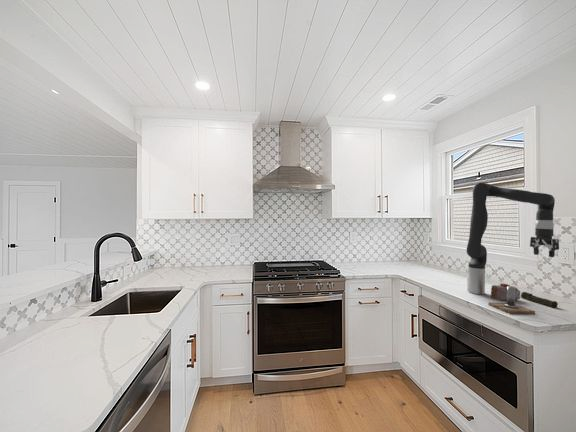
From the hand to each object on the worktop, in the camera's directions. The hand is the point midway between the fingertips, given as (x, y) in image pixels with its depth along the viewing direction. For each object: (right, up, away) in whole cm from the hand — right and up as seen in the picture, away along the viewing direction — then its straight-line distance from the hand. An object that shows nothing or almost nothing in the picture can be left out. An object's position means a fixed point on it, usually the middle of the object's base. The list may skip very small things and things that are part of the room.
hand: (543, 255), depth 149 cm
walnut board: (-23, -30, -5) cm, 38 cm away
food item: (-11, -30, +13) cm, 35 cm away
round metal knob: (-23, -28, -5) cm, 37 cm away
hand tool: (+3, -30, +7) cm, 31 cm away
